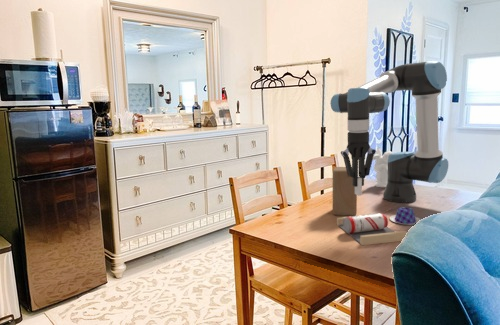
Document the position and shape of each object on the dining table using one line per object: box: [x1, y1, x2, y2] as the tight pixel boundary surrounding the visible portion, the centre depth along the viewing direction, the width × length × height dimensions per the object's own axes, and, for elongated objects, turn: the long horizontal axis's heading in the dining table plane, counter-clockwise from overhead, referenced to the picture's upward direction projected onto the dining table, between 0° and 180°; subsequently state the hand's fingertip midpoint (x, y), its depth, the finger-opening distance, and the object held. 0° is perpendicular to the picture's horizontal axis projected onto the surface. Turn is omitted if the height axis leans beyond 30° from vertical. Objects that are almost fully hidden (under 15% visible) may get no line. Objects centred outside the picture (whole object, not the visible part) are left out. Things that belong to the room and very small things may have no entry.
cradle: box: [336, 216, 408, 246], centre depth 140 cm, size 17×22×3 cm
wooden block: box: [332, 166, 358, 217], centre depth 163 cm, size 10×10×20 cm
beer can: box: [343, 212, 389, 234], centre depth 140 cm, size 6×6×16 cm
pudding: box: [389, 206, 422, 226], centre depth 151 cm, size 12×12×5 cm
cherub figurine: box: [372, 146, 394, 189], centre depth 207 cm, size 12×12×22 cm
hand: (358, 194), depth 137 cm, fingers closed
